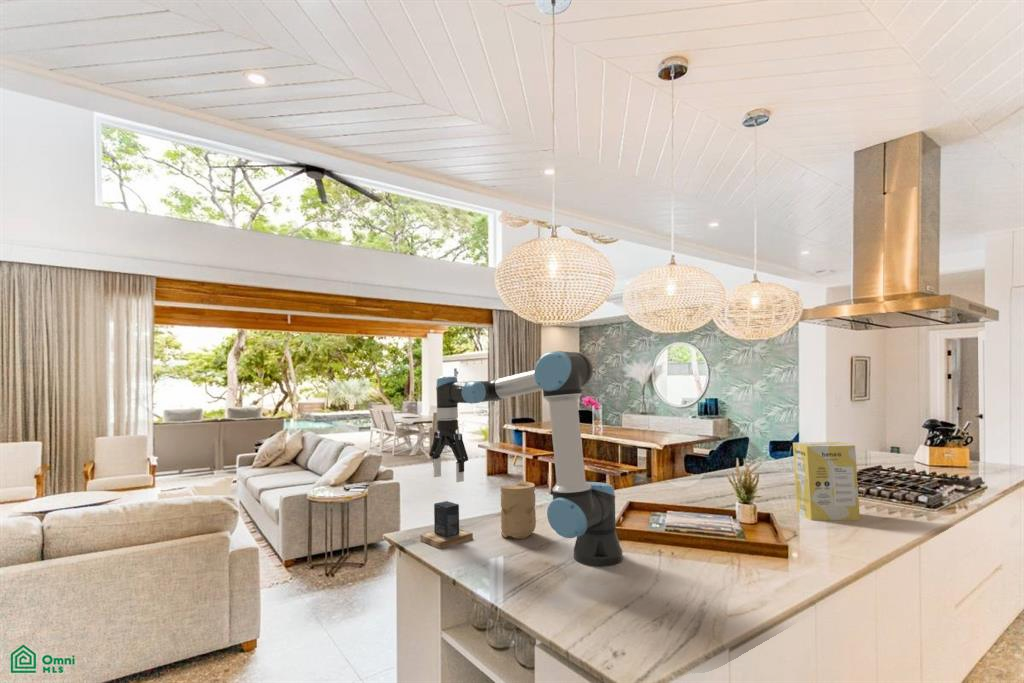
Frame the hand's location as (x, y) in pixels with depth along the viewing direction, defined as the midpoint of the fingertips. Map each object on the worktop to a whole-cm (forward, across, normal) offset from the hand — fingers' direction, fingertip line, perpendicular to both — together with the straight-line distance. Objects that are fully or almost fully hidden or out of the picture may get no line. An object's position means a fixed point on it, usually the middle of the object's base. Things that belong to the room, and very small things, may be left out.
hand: (448, 479), depth 180 cm
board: (+21, 0, +1) cm, 21 cm away
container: (+21, -15, -20) cm, 33 cm away
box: (+19, 0, +1) cm, 19 cm away
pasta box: (+22, -87, -119) cm, 149 cm away
